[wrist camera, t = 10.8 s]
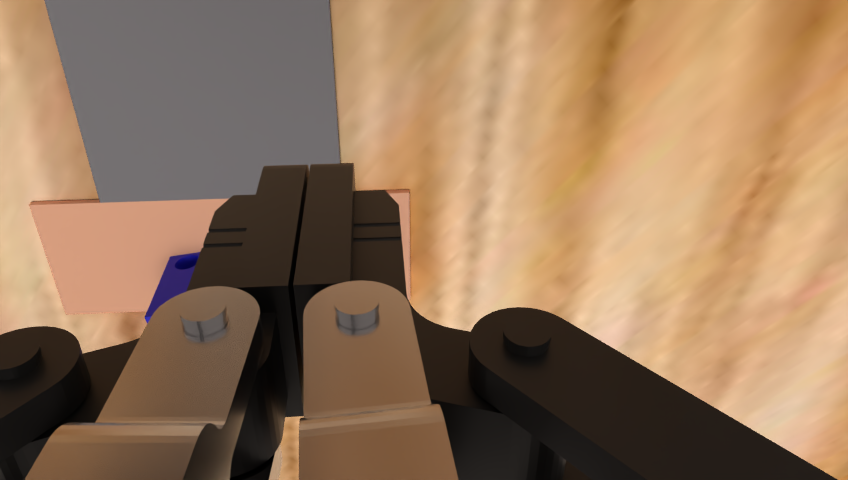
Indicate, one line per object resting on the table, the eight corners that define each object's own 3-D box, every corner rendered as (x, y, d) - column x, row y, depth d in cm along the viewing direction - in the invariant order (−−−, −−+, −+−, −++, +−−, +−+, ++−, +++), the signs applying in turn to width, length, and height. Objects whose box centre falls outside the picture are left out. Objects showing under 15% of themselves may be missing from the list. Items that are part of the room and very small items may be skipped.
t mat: (-40, -12, 35) (-44, -10, 35) (406, -18, 36) (407, -17, 36) (68, 310, 46) (65, 314, 45) (410, 296, 47) (410, 300, 47)
